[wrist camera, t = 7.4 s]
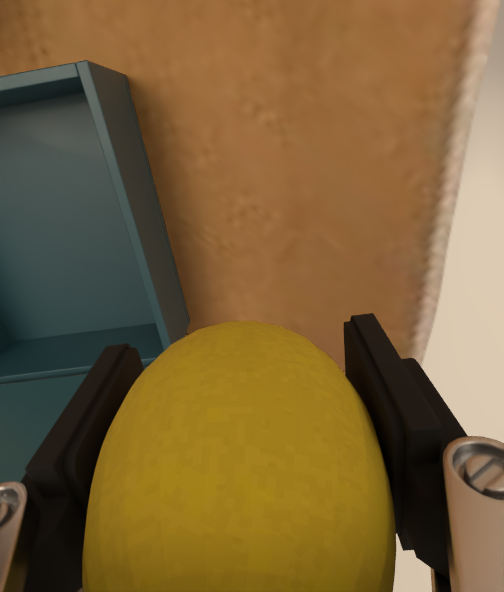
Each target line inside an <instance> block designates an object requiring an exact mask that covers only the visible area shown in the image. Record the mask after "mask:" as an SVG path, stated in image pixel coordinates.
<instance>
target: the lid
mask: <svg viewBox="0 0 504 592" xmlns="http://www.w3.org/2000/svg"><path fill="white" fill-rule="evenodd" d="M146 368H147V367H144V370H145V369H146ZM86 376H87V374H82V375H74V376H66V377H57V378H49V379H41V380H33V381H25V382H16V383H8V384H0V483H2V482H6V481H18V482H20V481H21V480H22V478H23V477H24V475H25V473H26V470H25V467H26V466H27V464H28V463H29V461H30V460H31V458H32V457H33V455H34V454H35V452H36V451H37V449H38V448H39V446H40V445H41V443H42V442H43V440H44V439H45V437H46V436H47V434H48V433H49V431H50V430H51V428H52V427H53V425H54V424H55V422H56V421H57V419H58V418H59V416H60V415H61V413H62V412H63V410H64V409H65V407H66V406H67V404H68V403H69V401H70V400H71V398H72V397H73V395H74V394H75V392H76V391H77V389H78V388H79V386H80V385H81V383H82V382H83V380H84V379H85V377H86Z"/></svg>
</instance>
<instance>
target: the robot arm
mask: <svg viewBox="0 0 504 592" xmlns="http://www.w3.org/2000/svg"><path fill="white" fill-rule="evenodd" d="M344 347H345V371H346V377H347V379H348V380H349V381H350V383H351V384H352V386H353V387H354V388H355V390H356V391H357V393H358V394H359V396H360V397H361V399H362V401H363V403H364V405H365V406H366V408H367V411H368V413H369V415H370V418H371V420H372V422H373V425H374V429H375V432H376V435H377V438H378V441H379V444H380V448H381V451H382V454H383V457H384V460H385V464H386V468H387V472H388V477H389V481H390V487H391V493H392V499H393V507H394V517H395V531H396V533H397V534H398V537H399V540H400V543H401V546H402V548H403V550H414V551H415V554H416V557H417V558H418V559H420V560H421V561H423V562H424V563H425V564H427V565H428V566H429V567H431V580H432V592H504V443H502V442H499V441H497V440H494V439H490V438H485V437H478V436H467V434H466V433H465V431H464V430H463V428H462V427H461V426H460V424H459V423H458V421H457V419H456V418H455V417H454V415H453V414H452V412H451V411H450V409H449V408H448V406H447V405H446V403H445V402H444V400H443V399H442V397H441V396H440V394H439V393H438V391H437V390H436V388H435V387H434V385H433V384H432V383H431V381H430V380H429V378H428V377H427V375H426V374H425V372H424V371H423V369H422V368H421V366H420V365H419V363H418V362H417V361H416V360H415V359H413V358H407V359H401V358H400V356H399V355H398V353H397V351H396V350H395V348H394V346H393V345H392V343H391V342H390V340H389V338H388V337H387V335H386V333H385V332H384V330H383V329H382V327H381V325H380V324H379V322H378V320H377V319H376V317H375V316H374V314H373V313H370V314H362V315H354V316H351V319H350V321H349V322H344ZM143 371H144V367H143V364H142V361H141V358H140V355H139V352H138V350H137V349H136V348H131V346H130V345H129V344H128V343H125V344H117V345H109V346H106V347H105V348H104V350H103V351H102V353H101V354H100V356H99V357H98V359H97V360H96V362H95V363H94V365H93V366H92V368H91V370H90V371H89V373H88V374H87V376H86V377H85V379H84V380H83V382H82V383H81V385H80V386H79V388H78V389H77V391H76V392H75V394H74V395H73V397H72V398H71V400H70V401H69V403H68V404H67V406H66V407H65V409H64V410H63V412H62V413H61V415H60V416H59V418H58V419H57V421H56V422H55V424H54V425H53V427H52V428H51V430H50V431H49V433H48V434H47V436H46V437H45V439H44V440H43V442H42V443H41V445H40V446H39V448H38V449H37V451H36V452H35V454H34V455H33V457H32V458H31V460H30V461H29V463H28V464H27V466H26V467H25V470H26V473H25V475H24V477H23V478H22V480H21V481H20V482H18V481H6V482H2V483H0V592H84V589H83V583H82V556H83V546H84V536H85V527H86V518H87V509H88V503H89V497H90V491H91V485H92V481H93V476H94V472H95V468H96V463H97V460H98V457H99V454H100V451H101V447H102V444H103V442H104V439H105V437H106V434H107V432H108V429H109V428H110V426H111V424H112V422H113V420H114V418H115V416H116V414H117V412H118V410H119V408H120V407H121V405H122V403H123V401H124V399H125V397H126V395H127V394H128V392H129V390H130V389H131V387H132V386H133V384H134V383H135V381H136V380H137V378H138V377H139V376H140V375H141V373H142V372H143Z"/></svg>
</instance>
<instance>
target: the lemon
mask: <svg viewBox="0 0 504 592" xmlns="http://www.w3.org/2000/svg"><path fill="white" fill-rule="evenodd" d="M395 557H396V531H395V517H394V507H393V499H392V493H391V487H390V481H389V477H388V472H387V468H386V464H385V460H384V457H383V454H382V451H381V448H380V444H379V441H378V438H377V435H376V432H375V429H374V425H373V422H372V420H371V418H370V415H369V413H368V411H367V408H366V406H365V405H364V403H363V401H362V399H361V397H360V396H359V394H358V393H357V391H356V390H355V388H354V387H353V386H352V384H351V383H350V381H349V380H348V379H347V377H346V376H345V375H344V373H343V372H342V370H341V369H340V368H339V366H338V365H337V364H336V363H335V362H334V361H333V359H332V358H331V357H330V356H328V355H327V354H326V353H325V352H323V351H322V350H321V349H319V348H318V347H317V346H316V345H314V344H313V343H312V342H310V341H309V340H308V339H306V338H305V337H304V336H301V335H299V334H297V333H295V332H292V331H290V330H288V329H285V328H283V327H281V326H278V325H273V324H267V323H262V322H257V321H229V322H223V323H220V324H216V325H212V326H208V327H205V328H201V329H198V330H197V331H195V332H193V333H191V334H189V335H187V336H186V337H184V338H182V339H180V340H178V341H177V342H175V343H173V344H172V345H170V346H169V347H168V348H167V349H166V350H165V351H164V352H163V353H162V354H161V355H160V356H159V357H158V358H157V359H155V360H154V361H153V362H152V363H151V364H150V365H149V366H148V367H147V368H146V369H145V370H144V371H143V372H142V373H141V375H140V376H139V377H138V378H137V380H136V381H135V383H134V384H133V386H132V387H131V389H130V390H129V392H128V394H127V395H126V397H125V399H124V401H123V403H122V405H121V407H120V408H119V410H118V412H117V414H116V416H115V418H114V420H113V422H112V424H111V426H110V428H109V429H108V432H107V434H106V437H105V439H104V442H103V444H102V447H101V451H100V454H99V457H98V460H97V463H96V468H95V472H94V476H93V481H92V485H91V491H90V497H89V503H88V509H87V518H86V527H85V536H84V546H83V556H82V583H83V589H84V592H393V583H394V575H395V574H394V573H395V560H396V558H395Z"/></svg>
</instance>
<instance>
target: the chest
mask: <svg viewBox="0 0 504 592" xmlns="http://www.w3.org/2000/svg"><path fill="white" fill-rule="evenodd" d="M189 323H190V319H189V315H188V311H187V308H186V304H185V300H184V296H183V292H182V288H181V284H180V281H179V277H178V273H177V269H176V265H175V261H174V257H173V254H172V250H171V246H170V242H169V238H168V234H167V231H166V227H165V223H164V219H163V215H162V211H161V207H160V204H159V200H158V196H157V192H156V188H155V184H154V180H153V177H152V173H151V169H150V165H149V161H148V157H147V153H146V150H145V146H144V142H143V138H142V134H141V130H140V126H139V123H138V119H137V115H136V111H135V107H134V103H133V100H132V96H131V92H130V88H129V84H128V80H127V76H126V75H124V74H122V73H119V72H117V71H114V70H111V69H109V68H106V67H103V66H101V65H98V64H95V63H93V62H90V61H87V60H85V61H80V62H76V63H69V64H64V65H58V66H53V67H48V68H42V69H37V70H32V71H27V72H21V73H16V74H11V75H5V76H0V384H5V383H14V382H22V381H30V380H38V379H46V378H55V377H63V376H71V375H79V374H87V373H89V371H90V370H91V368H92V366H93V365H94V363H95V362H96V360H97V359H98V357H99V356H100V354H101V353H102V351H103V350H104V348H105V347H106V346H109V345H117V344H125V343H128V344H129V345H130V346H131V348H136V349H137V350H138V352H139V355H140V358H141V361H142V364H143V367H145V366H149V365H150V364H151V363H152V362H153V361H154V360H155V359H157V358H158V357H159V356H160V355H161V354H162V353H163V352H164V351H165V350H166V349H167V348H168V347H169V346H170V345H172V344H173V343H175V342H177V341H178V340H180V339H182V338H184V337H185V335H186V332H187V329H188V326H189Z"/></svg>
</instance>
